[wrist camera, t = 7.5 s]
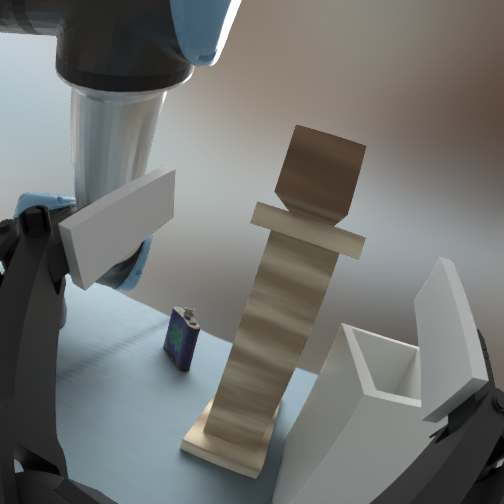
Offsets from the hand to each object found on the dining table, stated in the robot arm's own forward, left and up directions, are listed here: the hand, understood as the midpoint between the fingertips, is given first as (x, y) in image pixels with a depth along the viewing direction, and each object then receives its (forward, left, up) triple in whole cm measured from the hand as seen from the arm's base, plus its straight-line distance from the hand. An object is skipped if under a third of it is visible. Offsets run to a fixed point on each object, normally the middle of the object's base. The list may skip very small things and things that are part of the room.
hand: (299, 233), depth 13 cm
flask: (-34, +12, -29) cm, 46 cm away
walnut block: (-11, +11, +2) cm, 16 cm away
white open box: (0, +19, -28) cm, 34 cm away
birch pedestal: (-16, +16, -28) cm, 37 cm away
